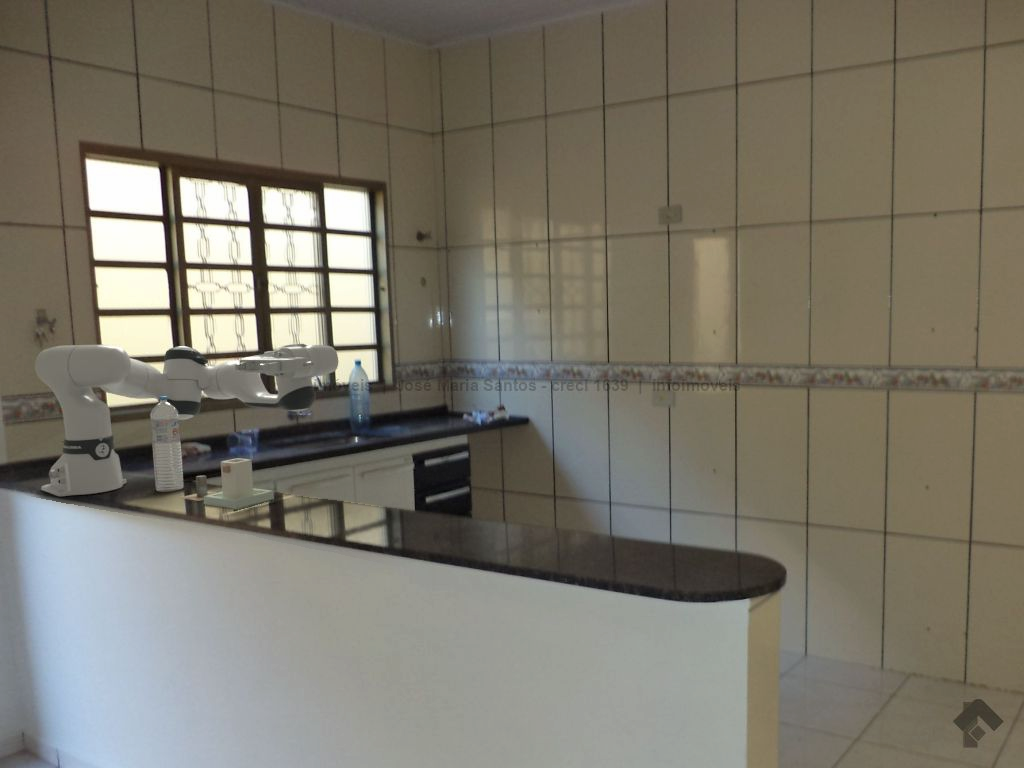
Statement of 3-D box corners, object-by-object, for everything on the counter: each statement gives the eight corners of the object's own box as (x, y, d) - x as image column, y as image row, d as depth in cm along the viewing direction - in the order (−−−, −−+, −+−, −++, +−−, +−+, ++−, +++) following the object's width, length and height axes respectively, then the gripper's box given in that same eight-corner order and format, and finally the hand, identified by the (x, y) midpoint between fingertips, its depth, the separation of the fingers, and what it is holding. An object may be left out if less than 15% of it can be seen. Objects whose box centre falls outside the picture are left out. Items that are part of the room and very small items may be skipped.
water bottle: (171, 487, 224) (164, 395, 222) (189, 489, 221) (182, 395, 219) (150, 492, 218) (142, 397, 216) (169, 494, 215) (161, 398, 213)
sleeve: (220, 503, 200) (217, 462, 199) (240, 498, 205) (237, 458, 204) (234, 505, 197) (231, 463, 196) (254, 500, 202) (251, 459, 201)
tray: (204, 506, 200) (203, 496, 200) (243, 496, 210) (242, 486, 210) (235, 511, 194) (235, 500, 194) (274, 500, 204) (273, 490, 203)
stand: (178, 500, 208) (177, 478, 208) (205, 493, 215) (204, 472, 214) (199, 503, 204) (197, 480, 203) (226, 496, 211) (224, 474, 210)
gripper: (318, 375, 220) (277, 380, 208) (265, 374, 231) (224, 379, 219) (317, 351, 219) (276, 355, 207) (264, 351, 230) (222, 355, 219)
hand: (249, 367), depth 213 cm, fingers open, 8 cm apart
